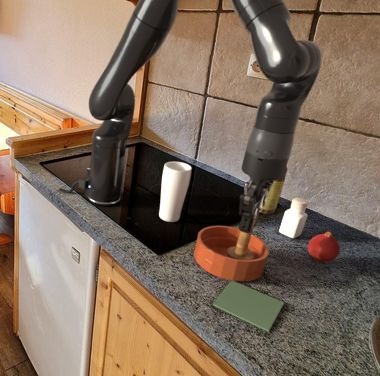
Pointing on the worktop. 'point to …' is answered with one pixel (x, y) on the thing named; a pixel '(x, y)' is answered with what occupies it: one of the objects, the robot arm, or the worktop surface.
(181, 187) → the drinking glass
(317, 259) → the onion
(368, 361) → the worktop surface
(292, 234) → the pepper shaker
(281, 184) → the sauce bottle
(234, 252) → the dish brush
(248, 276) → the bowl
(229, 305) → the mat
